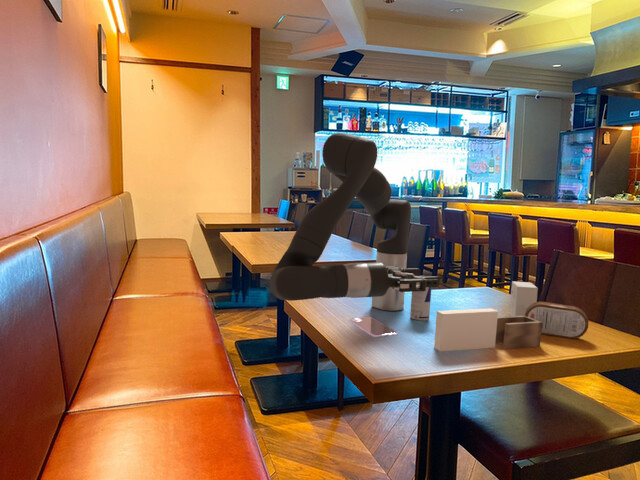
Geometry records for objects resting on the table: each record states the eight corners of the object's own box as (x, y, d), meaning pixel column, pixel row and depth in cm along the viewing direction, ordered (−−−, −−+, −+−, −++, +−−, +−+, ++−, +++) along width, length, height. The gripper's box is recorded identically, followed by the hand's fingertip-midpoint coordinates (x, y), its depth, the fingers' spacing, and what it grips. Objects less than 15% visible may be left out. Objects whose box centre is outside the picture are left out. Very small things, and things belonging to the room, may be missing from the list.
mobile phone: (373, 335, 116) (347, 318, 130) (373, 338, 117) (347, 321, 130) (399, 332, 119) (371, 315, 133) (399, 336, 119) (371, 319, 133)
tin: (586, 339, 122) (590, 307, 121) (587, 342, 120) (591, 310, 119) (523, 329, 129) (526, 299, 128) (523, 332, 126) (526, 301, 125)
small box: (534, 324, 134) (538, 287, 133) (514, 322, 135) (517, 286, 134) (528, 316, 142) (531, 282, 140) (508, 314, 143) (511, 280, 141)
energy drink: (432, 318, 135) (435, 277, 134) (422, 322, 131) (425, 280, 130) (416, 314, 139) (419, 274, 137) (406, 317, 135) (409, 276, 133)
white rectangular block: (439, 351, 109) (442, 314, 107) (434, 347, 111) (436, 310, 110) (494, 347, 113) (498, 311, 112) (488, 344, 115) (491, 308, 114)
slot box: (505, 348, 112) (508, 324, 111) (489, 340, 118) (491, 317, 117) (540, 346, 115) (542, 322, 114) (522, 338, 121) (525, 315, 120)
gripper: (376, 270, 95) (447, 267, 100) (351, 256, 108) (414, 255, 113) (374, 306, 96) (444, 301, 101) (350, 288, 109) (412, 285, 114)
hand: (428, 276), depth 107 cm, fingers open, 8 cm apart
